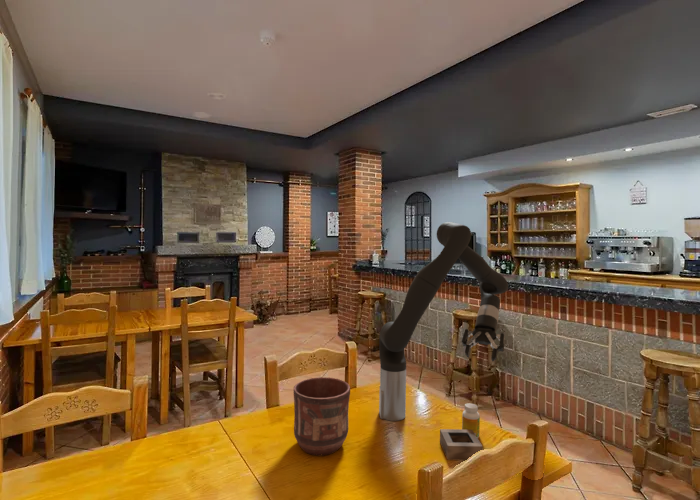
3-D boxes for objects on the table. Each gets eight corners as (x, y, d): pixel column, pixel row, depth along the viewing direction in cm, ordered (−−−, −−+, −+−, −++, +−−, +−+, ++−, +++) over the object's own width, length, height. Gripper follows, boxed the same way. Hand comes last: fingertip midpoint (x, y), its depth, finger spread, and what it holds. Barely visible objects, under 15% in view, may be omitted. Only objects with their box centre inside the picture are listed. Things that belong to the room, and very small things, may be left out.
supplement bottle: (480, 440, 124) (481, 410, 123) (462, 438, 125) (463, 408, 125) (478, 432, 129) (478, 403, 129) (461, 430, 130) (461, 401, 130)
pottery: (362, 444, 120) (362, 386, 120) (319, 468, 107) (320, 403, 107) (322, 426, 132) (323, 373, 132) (280, 445, 119) (280, 386, 119)
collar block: (447, 459, 112) (447, 445, 112) (439, 441, 122) (440, 429, 122) (482, 460, 112) (482, 446, 112) (471, 442, 122) (472, 429, 122)
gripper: (466, 312, 147) (457, 349, 138) (506, 315, 140) (500, 355, 130) (469, 323, 152) (461, 360, 142) (508, 327, 145) (502, 366, 135)
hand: (480, 358), depth 136 cm, fingers open, 8 cm apart
